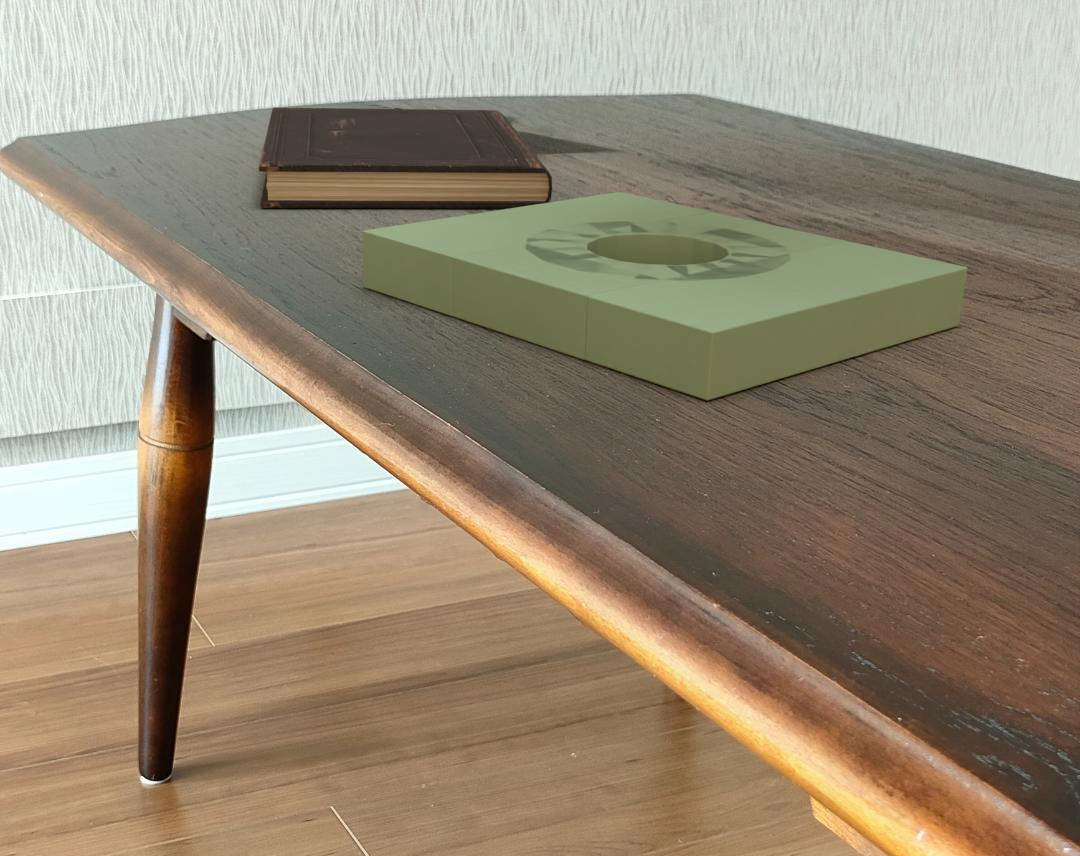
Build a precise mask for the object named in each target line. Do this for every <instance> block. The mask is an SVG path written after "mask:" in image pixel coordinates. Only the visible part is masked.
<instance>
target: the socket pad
mask: <svg viewBox="0 0 1080 856" xmlns="http://www.w3.org/2000/svg"><path fill="white" fill-rule="evenodd" d="M362 262H363V263H362V265H363V266H362V268H363V269H362V271H363V287H364V288H366V289H369V290H372V291H374V292H377V293H381V294H384V295H387V296H390V297H393V298H395V299H399V300H401V301H406V302H408V303H410V304H413V305H416V306H420V307H422V308H425V309H429V310H432V311H435V312H438V313H440V314H444V315H447V316H450V317H453V318H457V319H460V320H463V321H465V322H469V323H472V324H475V325H477V326H481V327H484V328H486V329H489V330H493V331H494V332H495V331H496V332H498V333H502V334H505V335H508V336H511V337H514V338H516V339H520V340H523V341H526V342H529V343H532V344H534V345H538V346H540V347H544V348H546V349H550V350H553V351H555V352H559V353H562V354H565V355H567V356H571V357H574V358H577V359H581V360H582V361H587V362H590V363H592V364H595V365H599V366H602V367H605V368H608V369H611V370H614V371H617V372H620V373H622V374H626V375H629V376H632V377H635V378H638V379H641V380H644V381H647V382H650V383H653V384H656V385H660V386H661V387H665V388H668V389H671V390H674V391H677V392H681V393H683V394H685V395H689V396H691V397H696V398H698V399H701V400H704V401H711V400H714V399H718V398H720V397H724V396H727V395H731V394H734V393H737V392H741V391H744V390H748V389H751V388H754V387H757V386H761V385H765V384H767V383H771V382H774V381H778V380H781V379H784V378H787V377H791V376H795V375H798V374H801V373H804V372H808V371H812V370H814V369H818V368H821V367H825V366H829V365H832V364H835V363H838V362H842V361H844V360H848V359H851V358H855V357H859V356H862V355H865V354H869V353H872V352H875V351H879V350H882V349H885V348H888V347H889V348H890V347H892V346H895V345H899V344H902V343H905V342H909V341H913V340H915V339H919V338H923V337H925V336H929V335H932V334H936V333H939V332H943V331H945V330H949V329H952V328H956V327H959V326H960V322H961V315H962V311H963V310H962V308H963V303H964V297H965V288H966V282H967V275H968V267H967V266H963V265H959V264H954V263H949V262H945V261H941V260H935V259H932V258H927V257H922V256H918V255H912V254H908V253H904V252H901V251H900V252H899V251H894V250H890V249H885V248H881V247H876V246H872V245H867V244H862V243H858V242H854V241H853V242H852V241H849V240H843V239H839V238H835V237H829V236H825V235H820V234H815V233H813V232H812V233H811V232H807V231H802V230H797V229H792V228H788V227H783V226H780V225H779V226H778V225H774V224H769V223H766V222H761V221H757V220H751V219H748V218H742V217H737V216H734V215H733V216H732V215H728V214H723V213H719V212H714V211H711V210H707V209H702V208H696V207H692V206H687V205H683V204H678V203H673V202H668V201H665V200H659V199H655V198H651V197H646V196H641V195H637V194H633V193H628V192H623V191H616V192H609V193H603V194H597V195H590V196H589V195H588V196H582V197H575V198H569V199H563V200H556V201H549V203H543V204H536V205H529V206H523V207H516V208H502V209H498V210H490V211H484V212H477V213H470V214H465V215H464V214H463V215H457V216H451V217H444V218H438V219H431V220H425V221H418V222H412V223H404V224H398V225H391V226H385V227H377V228H371V229H365V230H362Z"/></svg>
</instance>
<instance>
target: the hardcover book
mask: <svg viewBox="0 0 1080 856" xmlns="http://www.w3.org/2000/svg"><path fill="white" fill-rule="evenodd" d="M258 172H265V173H266V174H265V179H264V184H263V189H262V194H261V199H260V208H262V209H510V208H516V207H523V206H529V205H536V204H543V203H549V202H551V199H552V193H553V177H552V174H551V173H550V171H549V170H548V168H547V167H546V166H545V165H544V164H543V162H542V161H541V160H540V159H539V157H538V156H537V155H536V154H535V152H533V150H532V149H531V148H530V146H529V145H528V144H527V143H526V141H525V140H524V139H523V138H522V136H521V135H520V134H519V133H518V132H517V131H516V128H515V127H513V126H512V124H511V123H510V122H509V120H508V119H507V118H506V117H505V115H504V113H502V112H500V111H499V110H498V109H434V108H432V109H431V108H428V109H427V108H346V107H344V108H341V107H340V108H339V107H337V108H336V107H328V108H327V107H273V108H272V109H271V113H270V118H269V122H268V127H267V131H266V135H265V138H264V143H263V148H262V151H261V155H260V160H259V164H258Z"/></svg>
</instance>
